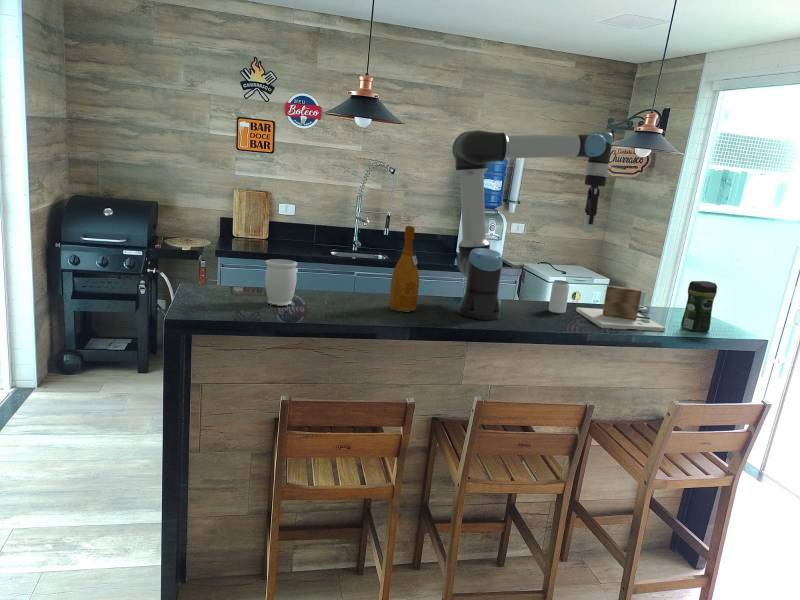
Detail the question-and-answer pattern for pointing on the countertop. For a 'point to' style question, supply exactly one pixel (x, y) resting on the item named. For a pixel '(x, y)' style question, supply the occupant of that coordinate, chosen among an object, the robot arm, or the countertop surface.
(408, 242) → the wine bottle
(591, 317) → the dial plate
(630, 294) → the brown wooden box
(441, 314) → the countertop surface
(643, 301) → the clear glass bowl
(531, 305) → the countertop surface
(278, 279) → the jar
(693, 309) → the coffee jar
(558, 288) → the can
